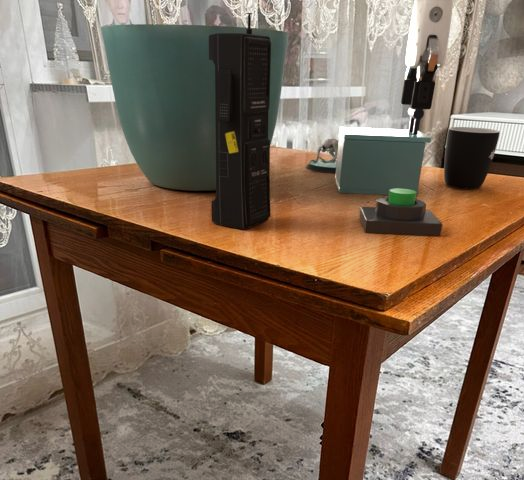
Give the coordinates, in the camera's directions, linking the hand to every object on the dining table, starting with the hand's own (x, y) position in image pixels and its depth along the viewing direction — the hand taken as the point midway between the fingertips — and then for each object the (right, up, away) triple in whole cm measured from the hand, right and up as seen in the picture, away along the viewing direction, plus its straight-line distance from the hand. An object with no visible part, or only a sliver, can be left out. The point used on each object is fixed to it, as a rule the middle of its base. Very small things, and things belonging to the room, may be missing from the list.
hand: (414, 106), depth 93 cm
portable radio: (-29, -25, -18) cm, 42 cm away
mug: (+13, -10, +12) cm, 20 cm away
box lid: (-5, -4, +2) cm, 7 cm away
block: (-7, -25, -17) cm, 31 cm away
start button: (-7, -22, -19) cm, 30 cm away
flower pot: (-38, -11, +6) cm, 40 cm away
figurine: (-12, -3, +24) cm, 27 cm away
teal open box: (-6, -12, +7) cm, 15 cm away
